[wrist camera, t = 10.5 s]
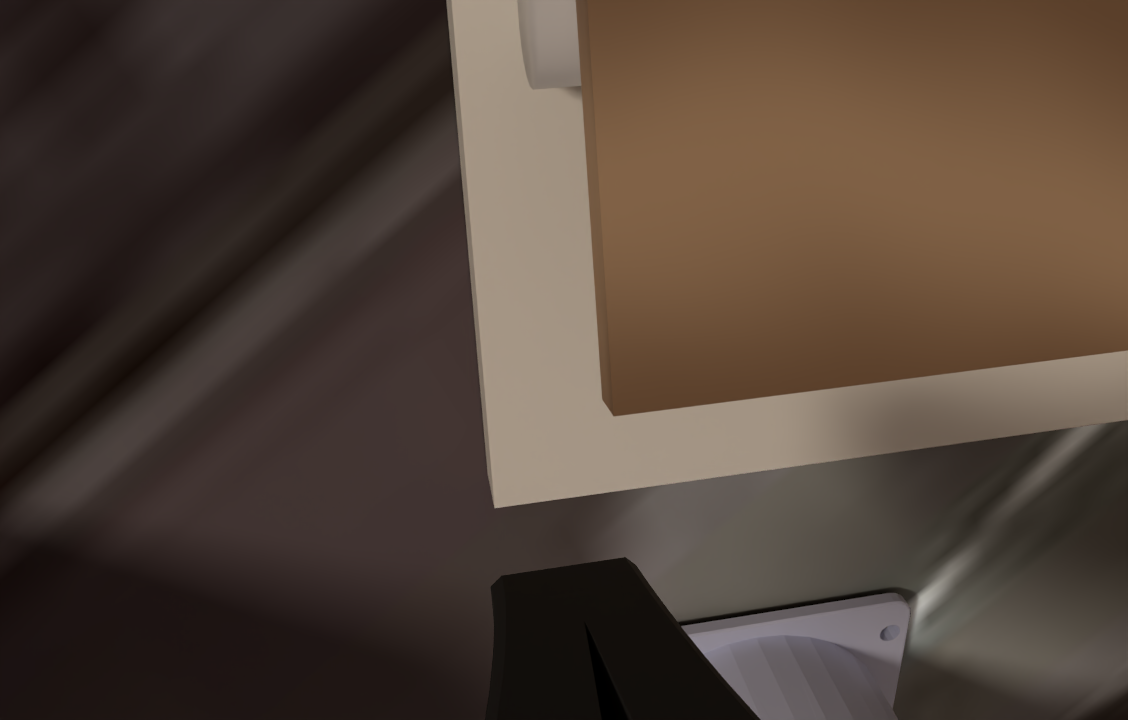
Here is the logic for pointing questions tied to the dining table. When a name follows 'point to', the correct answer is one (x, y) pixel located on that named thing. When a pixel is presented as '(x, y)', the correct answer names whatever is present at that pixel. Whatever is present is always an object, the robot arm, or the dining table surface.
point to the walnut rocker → (850, 191)
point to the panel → (569, 322)
